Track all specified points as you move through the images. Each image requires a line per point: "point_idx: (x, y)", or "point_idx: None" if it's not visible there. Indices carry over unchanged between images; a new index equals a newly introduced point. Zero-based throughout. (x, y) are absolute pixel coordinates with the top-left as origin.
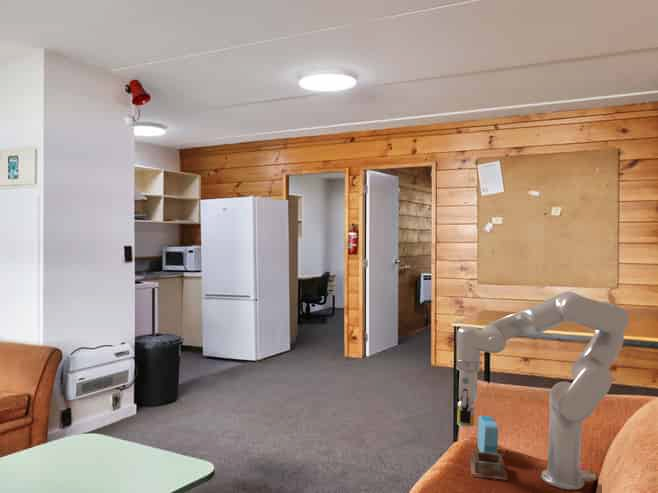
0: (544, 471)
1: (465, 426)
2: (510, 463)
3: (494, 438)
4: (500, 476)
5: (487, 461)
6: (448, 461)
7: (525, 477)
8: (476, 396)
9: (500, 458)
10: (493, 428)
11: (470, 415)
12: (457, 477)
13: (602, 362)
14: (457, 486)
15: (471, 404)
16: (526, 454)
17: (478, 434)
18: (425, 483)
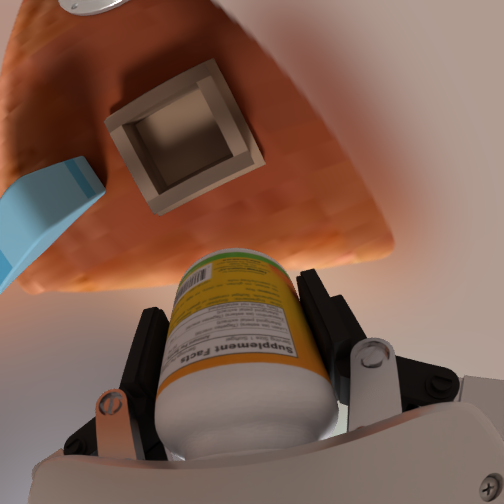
0: (94, 7)
1: (291, 281)
2: (77, 113)
3: (52, 178)
4: (220, 78)
5: (147, 155)
6: None
7: (148, 33)
8: (133, 484)
9: (147, 101)
10: (27, 197)
11: (320, 308)
12: (298, 198)
13: None
14: (354, 176)
15: (286, 409)
16: (4, 120)
17: (31, 262)
18: (378, 252)
